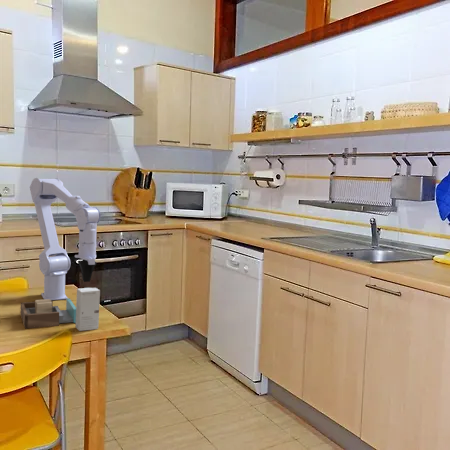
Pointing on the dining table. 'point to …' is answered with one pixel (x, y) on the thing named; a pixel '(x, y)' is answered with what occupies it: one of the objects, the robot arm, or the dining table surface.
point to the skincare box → (87, 308)
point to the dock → (38, 317)
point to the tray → (62, 312)
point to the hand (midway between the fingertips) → (86, 281)
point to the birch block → (43, 306)
